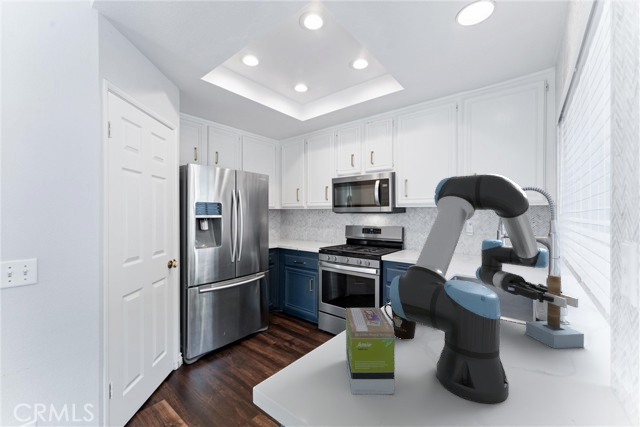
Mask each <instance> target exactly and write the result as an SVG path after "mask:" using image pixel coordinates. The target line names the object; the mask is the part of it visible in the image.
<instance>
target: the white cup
mask: <svg viewBox="0 0 640 427" xmlns="http://www.w3.org/2000/svg"><path fill="white" fill-rule="evenodd" d="M534 310H535V318H536V319H538V320H539V321H547V302H546V301H545V300H544V301H543V303H541V302H539V299H537V300H534Z"/></svg>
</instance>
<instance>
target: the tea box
mask: <svg viewBox="0 0 640 427" xmlns="http://www.w3.org/2000/svg"><path fill="white" fill-rule="evenodd" d="M384 313H385V312H384V311H383V310H382V309H381V307H345V349H346V350H345V359H346V365H347V366H346V367H347V372H348V377H349V384H350V385H349V386H350V391H351V394H352V395H380V396H381V395H395V387H396V386H395V383H396V382H395V381H396V379H395V378H396V377H395V376H396V375H395V372H396V371H395V366H396V365H395V364H396V363H395V362H396V361H395V352H396V351H395V339H396V337H395V335H394V329H393V326H391V324H390V322H389V320H388V318H387V317H386V315H385V314H384Z"/></svg>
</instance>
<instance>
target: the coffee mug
mask: <svg viewBox="0 0 640 427" xmlns="http://www.w3.org/2000/svg"><path fill="white" fill-rule="evenodd" d="M388 306H389V307H390V308H391V316H390V314H389V313H388V311H387V307H388ZM383 309H384V311H383V312H384V313H385V314H386V316H387V317H388V318H389V320H390V321H391V322H392V329H393V330H394V337H395V336H396V337H395V338H397V337H398V338H397V339H399V338H401V339H400V340H403V339H411V340H413V339H414V338H415V333H416V324H417V322H413V321H409V320H407V319H405V318H403V317H400V316H398V315H397V314H395V312H394V311H393V309H392V307H391V304H390V303H387V304H384V307H383Z"/></svg>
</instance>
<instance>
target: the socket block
mask: <svg viewBox="0 0 640 427" xmlns="http://www.w3.org/2000/svg"><path fill="white" fill-rule="evenodd" d="M525 334H526V335H528V336H530V337H531V338H534V339H535V340H537V341H539V342H541V343H543V344H545V345H547V346H548V347H551V348H552V349H564V348H565V349H567V348H568V349H570V348H584V347H585V346H584V345H585V342H584V341H585V334H584V333H583V332H580V331H578V330H575V329H573V328H571V327H568V326H566V325H564V324H561V323H560V327H552V326H549V325H547V321H543V320H539V321H536V320H535V321H525Z"/></svg>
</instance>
